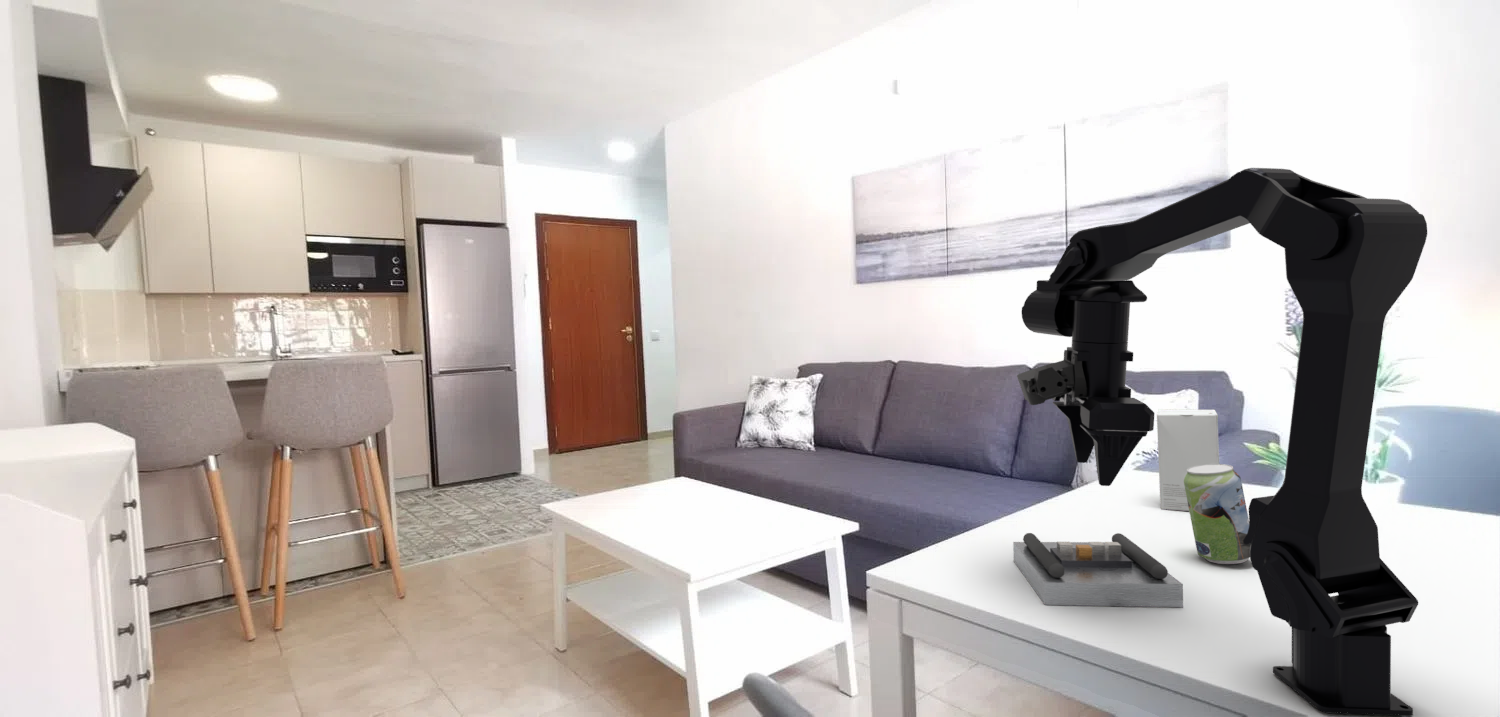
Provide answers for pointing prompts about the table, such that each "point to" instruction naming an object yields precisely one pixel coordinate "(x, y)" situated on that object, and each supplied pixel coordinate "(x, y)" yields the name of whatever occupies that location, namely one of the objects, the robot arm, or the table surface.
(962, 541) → the table surface
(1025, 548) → the breaker panel
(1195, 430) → the skincare box
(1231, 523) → the beverage can
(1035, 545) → the dark grey rounded bar
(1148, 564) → the dark grey rounded rod
